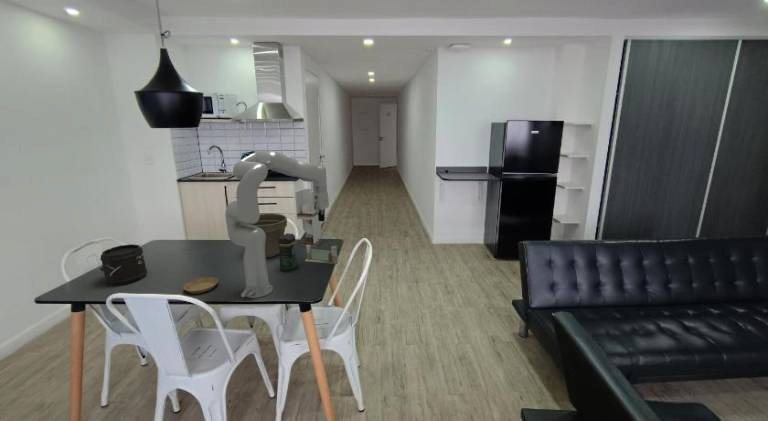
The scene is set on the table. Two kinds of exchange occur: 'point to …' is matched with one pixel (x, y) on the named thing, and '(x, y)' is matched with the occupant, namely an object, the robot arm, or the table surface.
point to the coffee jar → (287, 252)
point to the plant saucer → (200, 285)
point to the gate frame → (331, 257)
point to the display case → (308, 217)
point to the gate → (320, 254)
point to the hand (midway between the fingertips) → (321, 220)
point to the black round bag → (123, 264)
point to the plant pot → (271, 231)
